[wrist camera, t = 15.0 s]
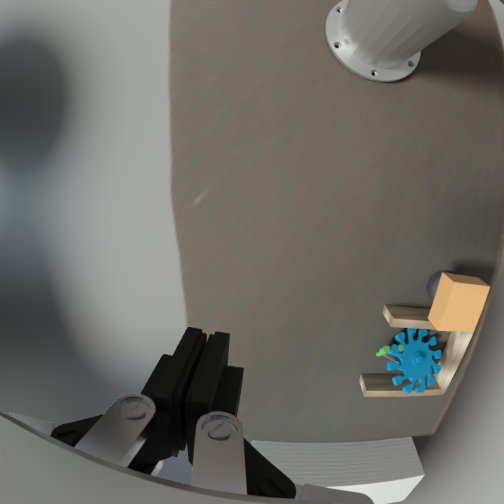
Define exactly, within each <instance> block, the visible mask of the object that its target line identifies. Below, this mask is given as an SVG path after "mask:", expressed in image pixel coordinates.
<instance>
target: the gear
mask: <svg viewBox="0 0 504 504" xmlns="http://www.w3.org/2000/svg"><path fill="white" fill-rule="evenodd" d="M406 332H407V336H408V340H407V344H405V342H404V340H405V333H404V332H402V333H399V334H397V335H396V336H395V339H396V341H398V343H399V345H396V344H393V345H391V346H390V345H386V346H384V347H382V348H380V350H379V351H378V352H377V353H376V356H382V355H383V356H384V357H386V358H389V359H391V360H393V361H389V362H388V364H387V370H389V371H390V370H394V369H398V370H401V371H402V373H403V374H402V376H394V377H393V378H392V381H393V383H394V385H399V384H401V383H402V381H403V380H404V379H406V378H409V380H410V382H409V384H407V385H404V386H403V388H402V390H403V391H404V392H405V393H406V394H408V393H411V392H412V390H413V385H414V383H415V382H416V381H417V380H418V382H419V383H418V385H417V386H416V388H415V392H416V393H423V392H424V391H425V387H424V379H425V376H426V377H427V379H426V386H432V385H433V384H435V379H434V378H433V377H432V375H431V370H430V368H431V367H432V372H433V374H439V372H440V370H441V366H440V365H437V364H435V363H434V361H433V360H432V356H433V358H434V359H440V358H441V350H438V351H435V352H434V351H431V350H430V349H429V347H428V346H429V345H430V346H433V345H436V344H437V341H436V338H435V337H431V338H429V339H428V341H427V342H426V343H423V342H422V337H424V336H426V335H427V334H428V332H427V330H426V329H419V331H418V337H417V339H416V340H414V339H413V335H414V334H415V333H416V328H407V329H406Z"/></svg>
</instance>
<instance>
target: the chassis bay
mask: <svg viewBox="0 0 504 504" xmlns="http://www.w3.org/2000/svg"><path fill="white" fill-rule="evenodd" d="M430 310H431V309H425V308H413V307H402V306H391V305H385V306H384V309H383V312H382V313H383V314H384V316H385V318H386V319H387V321H388V323H389V324H390V326H391V327H400V328H417V329H436V328H435V327H434V326H433V325H432V323H431V322H430V321H429V320H428V316H429V313H430ZM474 330H475V329H474ZM472 335H473V332H465V331H452V332H451V334H450V337H449V339H448V342H447V344H446V346H445V349H444V351H443V353H442V356H441V358H440V360H439V362H438V364H437V365H440V366H441V370H440V372H439V374H433V375H432V377H433V378H434V379H435V384H433V385H432V386H426V379H427V377H426V376H425V379H424V387H425V391H424V392H423V393H416V392H415V388H416V386H417V385H418V383H419V382H418V380H417V381H416V382H415V383H414V385H413V390H412V392H411V393H408V394H406V393H405V392H404V391H403V390H402V388H403V386H404V385H407V384H409V382H410V380H409V378H406V379H404V380H403V381H402V383H401V384H399V385H394V383H393V381H392V378H393V377H394V376H402V375H369V374H361V376H360V379H359V381H360V385H361V388H362V391H363V395H364V397H399V396H425V395H441V394H444V392H445V391H446V389H447V387H448V385H449V383H450V381H451V379H452V377H453V376H454V374H455V372H456V370H457V368H458V365H459V363H460V361H461V359H462V357H463V355H464V353H465V351H466V348H467V346H468V344H469V342H470V339H471V337H472Z"/></svg>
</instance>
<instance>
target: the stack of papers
mask: <svg viewBox="0 0 504 504" xmlns="http://www.w3.org/2000/svg"><path fill="white" fill-rule="evenodd" d="M252 446H253V447H254V448H255V449H256V450H257V451H259V452H260V453H261V454H262V455H263V456H264V457H265V458H266V459H268V460H269V461H270V462H271V463H272V464H273V465H274V466H276V467H277V468H278V469H279V470H280V471H281V472H283V473H284V474H285V475H286V476H287V477H289V478H290V479H291V480H292V482H293V483H294V484H299V485H303V486H304V485H305V483H306V484H311V485H316V486H321V487H326V488H332V489H338V490H345V491H352V492H359V493H363V494H366V495H367V496H369V497H370V498H371V499H372V501H373V502H374V504H387V503H393V502H398V501H403V500H404V499H405V498H406V497H407V496H408V494H409V493H410V492H411V491H412V490H413V489H414V487H415V486H416V485H417V484H418V483H419V481H420V480H421V479H422V478H423V477H424V475H425V474H424V472H423V468H422V465H421V462H420V461H419V457H418V453H417V450H416V448H415V445H414V443H413V440H412V437H404V438H395V439H386V440H375V441H362V442H342V443H291V442H271V441H257V440H252Z"/></svg>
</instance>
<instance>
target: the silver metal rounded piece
mask: <svg viewBox="0 0 504 504" xmlns="http://www.w3.org/2000/svg"><path fill="white" fill-rule="evenodd" d="M442 272H443V273H448V272H447V271H438V272H436V273H435V274H434V275H433V276H432V277H431V278H430V280H429V282H428V285H427V292H428V295H429V296H430V297H431V298H432V299H433V300H434V298H435V295H436V292H437V289H438V285H439V282H440V279H441V275H442Z"/></svg>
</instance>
